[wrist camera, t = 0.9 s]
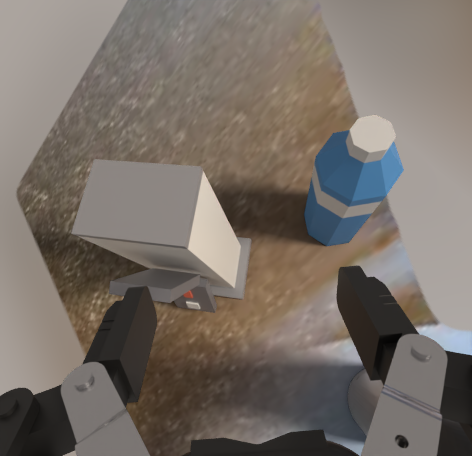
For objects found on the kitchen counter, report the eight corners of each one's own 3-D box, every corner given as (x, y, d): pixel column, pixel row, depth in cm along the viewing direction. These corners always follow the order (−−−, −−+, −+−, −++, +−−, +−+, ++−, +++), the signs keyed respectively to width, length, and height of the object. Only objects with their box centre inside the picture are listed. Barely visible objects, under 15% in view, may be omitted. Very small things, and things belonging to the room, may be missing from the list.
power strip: (180, 233, 56) (84, 143, 29) (251, 240, 53) (221, 151, 26) (168, 289, 53) (49, 248, 26) (243, 299, 51) (199, 267, 23)
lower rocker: (179, 299, 48) (164, 273, 41) (217, 305, 47) (207, 279, 40) (177, 308, 48) (160, 283, 40) (214, 314, 47) (204, 289, 39)
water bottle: (372, 228, 51) (449, 143, 28) (324, 257, 51) (361, 197, 27) (338, 185, 54) (381, 76, 31) (292, 212, 54) (302, 123, 30)
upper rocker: (152, 268, 38) (110, 281, 29) (200, 274, 37) (171, 289, 28) (151, 279, 38) (108, 296, 29) (199, 286, 37) (169, 305, 28)
